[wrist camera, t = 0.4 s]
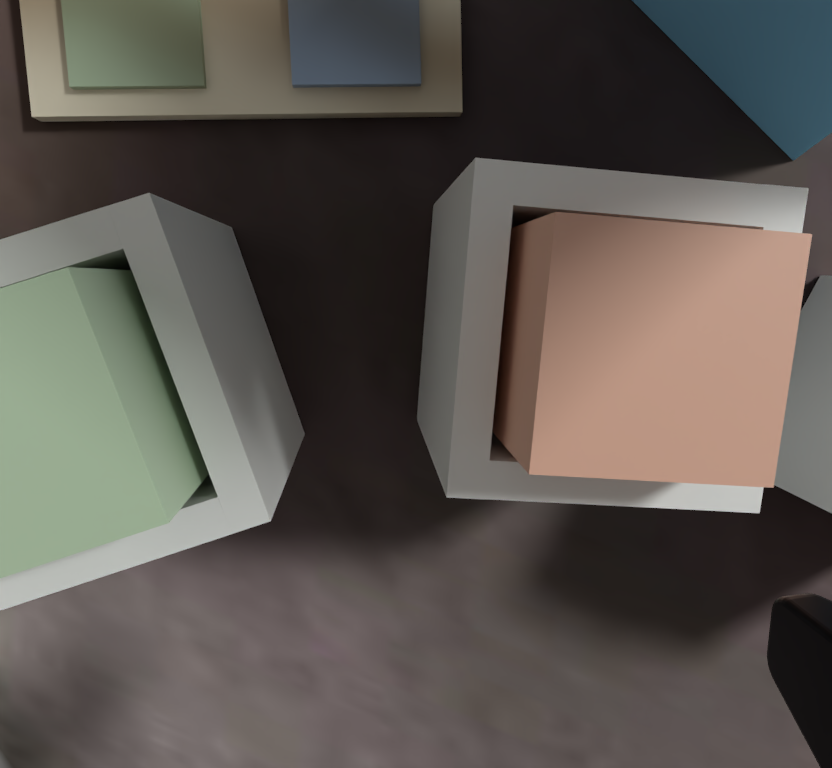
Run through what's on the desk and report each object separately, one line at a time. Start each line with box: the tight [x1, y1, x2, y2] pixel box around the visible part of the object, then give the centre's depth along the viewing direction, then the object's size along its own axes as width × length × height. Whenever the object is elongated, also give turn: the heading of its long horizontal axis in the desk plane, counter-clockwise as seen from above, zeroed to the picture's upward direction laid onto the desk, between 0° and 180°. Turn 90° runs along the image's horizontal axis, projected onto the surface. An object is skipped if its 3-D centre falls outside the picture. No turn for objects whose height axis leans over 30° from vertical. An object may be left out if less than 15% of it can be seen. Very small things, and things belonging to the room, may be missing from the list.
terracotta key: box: [492, 212, 812, 488], centre depth 15 cm, size 4×4×7 cm
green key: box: [0, 267, 209, 578], centre depth 15 cm, size 4×4×7 cm
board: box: [19, 0, 463, 122], centre depth 19 cm, size 5×12×1 cm, turn 91°
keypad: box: [0, 158, 832, 610], centre depth 18 cm, size 11×30×8 cm, turn 92°
